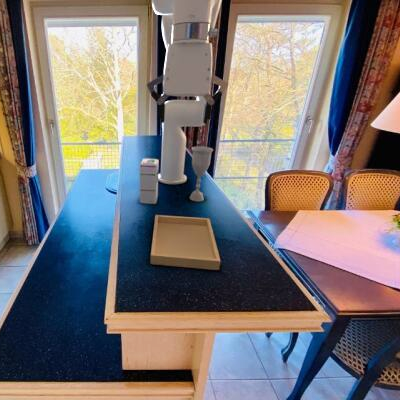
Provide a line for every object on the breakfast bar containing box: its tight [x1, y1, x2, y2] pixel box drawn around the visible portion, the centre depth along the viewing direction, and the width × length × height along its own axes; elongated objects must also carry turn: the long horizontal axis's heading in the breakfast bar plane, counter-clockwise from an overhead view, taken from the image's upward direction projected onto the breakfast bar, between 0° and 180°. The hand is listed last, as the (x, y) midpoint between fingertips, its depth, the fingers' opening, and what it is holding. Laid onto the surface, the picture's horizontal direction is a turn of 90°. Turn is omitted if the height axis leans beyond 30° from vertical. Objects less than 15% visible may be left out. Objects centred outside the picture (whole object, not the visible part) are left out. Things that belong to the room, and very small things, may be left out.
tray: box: [150, 214, 221, 271], centre depth 69 cm, size 20×16×3 cm
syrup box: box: [139, 158, 160, 205], centre depth 91 cm, size 6×6×14 cm
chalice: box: [189, 145, 214, 202], centre depth 91 cm, size 7×7×18 cm
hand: (183, 122), depth 61 cm, fingers open, 9 cm apart
